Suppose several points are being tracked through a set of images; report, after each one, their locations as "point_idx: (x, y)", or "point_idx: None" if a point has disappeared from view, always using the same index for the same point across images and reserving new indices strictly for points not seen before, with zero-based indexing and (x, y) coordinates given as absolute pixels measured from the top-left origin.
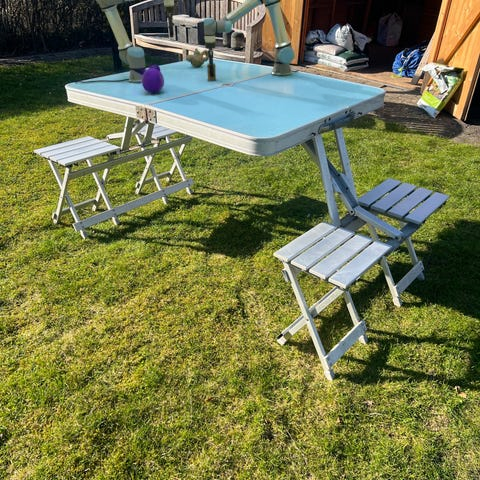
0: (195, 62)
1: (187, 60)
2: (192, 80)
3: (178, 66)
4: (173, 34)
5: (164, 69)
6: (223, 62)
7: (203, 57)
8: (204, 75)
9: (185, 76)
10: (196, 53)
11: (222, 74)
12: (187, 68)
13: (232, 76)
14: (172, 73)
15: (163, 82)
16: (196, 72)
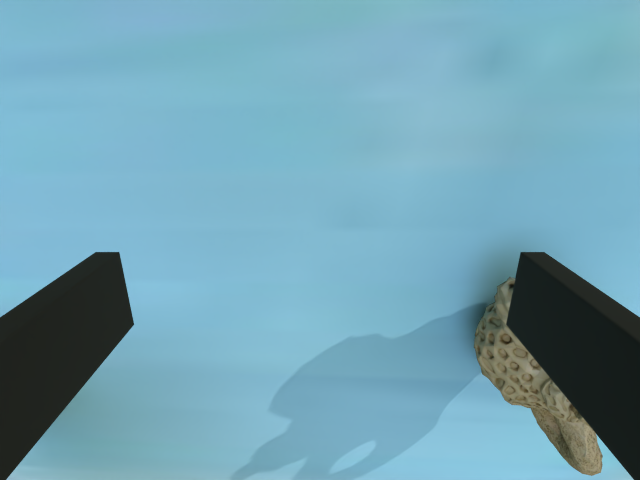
0: (482, 333)
1: (502, 285)
2: (18, 281)
3: (611, 184)
4: (514, 329)
5: (511, 60)
6: (621, 466)
7: (528, 407)
8: (187, 352)
9: (160, 238)
10: (542, 388)
11: (209, 438)
12: (486, 253)
13: (145, 475)
14: (296, 140)
15: None
16: (303, 310)
